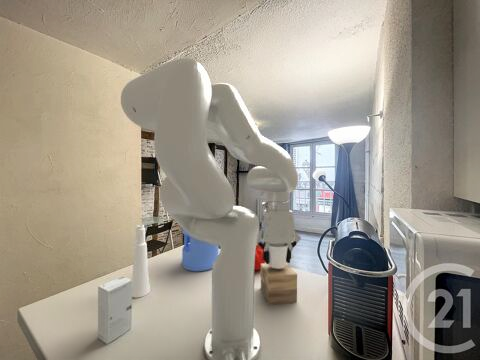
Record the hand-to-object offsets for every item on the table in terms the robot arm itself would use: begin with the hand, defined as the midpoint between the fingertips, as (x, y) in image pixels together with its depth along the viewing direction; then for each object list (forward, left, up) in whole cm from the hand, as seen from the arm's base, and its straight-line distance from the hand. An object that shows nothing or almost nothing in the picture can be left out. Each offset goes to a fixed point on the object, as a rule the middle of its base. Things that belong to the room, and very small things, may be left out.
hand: (276, 261), depth 66 cm
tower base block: (0, -1, -11) cm, 11 cm away
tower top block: (0, 0, -7) cm, 7 cm away
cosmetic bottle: (+6, +44, -11) cm, 46 cm away
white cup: (0, 0, -1) cm, 1 cm away
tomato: (+20, +4, -11) cm, 23 cm away
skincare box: (-11, +44, -11) cm, 47 cm away
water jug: (+26, +26, -11) cm, 39 cm away
